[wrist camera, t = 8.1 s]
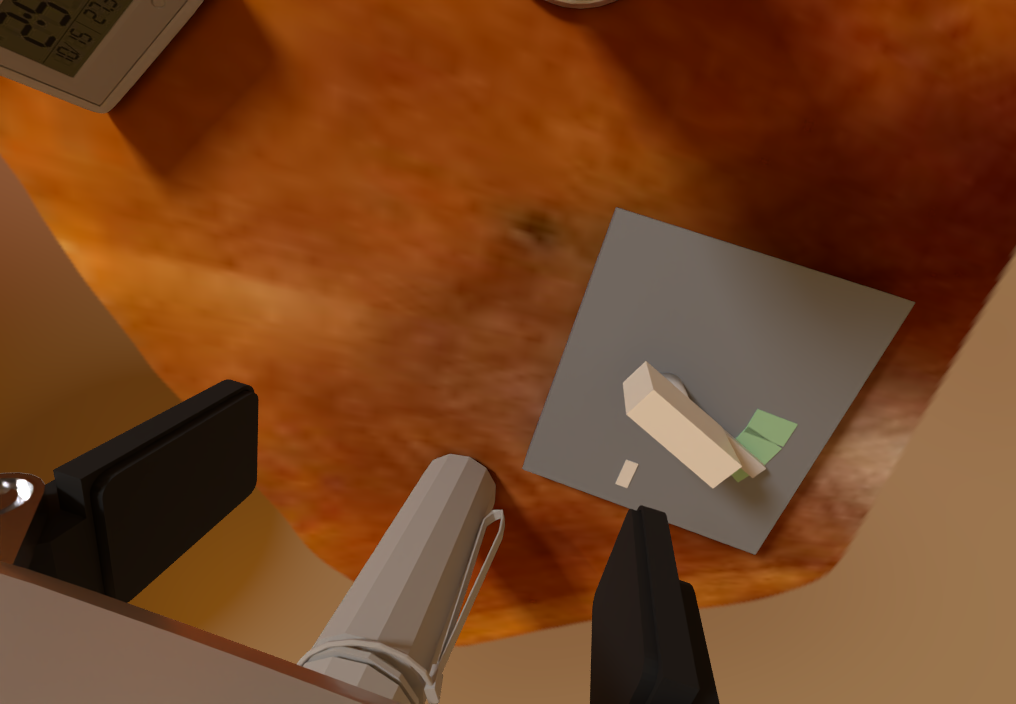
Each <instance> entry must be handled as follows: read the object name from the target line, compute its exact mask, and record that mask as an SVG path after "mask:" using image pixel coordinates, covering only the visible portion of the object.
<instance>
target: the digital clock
mask: <svg viewBox="0 0 1016 704" xmlns="http://www.w3.org/2000/svg"><path fill="white" fill-rule="evenodd" d="M203 1H204V0H0V75H1V76H4V77H6V78H9V79H11V80H14V81H16V82H19V83H21V84H24V85H26V86H29V87H32V88H34V89H37V90H39V91H42V92H44V93H47V94H49V95H52V96H54V97H57V98H59V99H62V100H65V101H67V102H70V103H72V104H75V105H77V106H80V107H82V108H85V109H88V110H90V111H93V112H97V113H107V112H109V111H110V110H111V109H113V108H114V106H115V105H116V104H117V103H118V102H119V101H120V100H121V99H122V98H123V96H124V95H125V94H126V93H127V92H128V91H129V89H130V88H131V87H132V86H133V85H134V84H135V83H136V82H137V81H138V79H139V78H140V77H141V76H142V75H143V73H144V72H145V71H146V70H147V69H148V68H149V66H150V65H151V64H152V63H153V62H154V60H155V59H156V58H157V57H158V56H159V55H160V53H161V52H162V51H163V50H164V49H165V47H166V46H167V45H168V44H169V43H170V42H171V40H172V39H173V38H174V37H175V36H176V34H177V33H178V32H179V31H180V30H181V29H182V27H183V26H184V25H185V24H186V23H187V21H188V20H189V19H190V18H191V17H192V15H193V14H194V13H195V12H196V10H197V9H198V7H199V6H200V5H201V4H202V2H203Z"/></svg>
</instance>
